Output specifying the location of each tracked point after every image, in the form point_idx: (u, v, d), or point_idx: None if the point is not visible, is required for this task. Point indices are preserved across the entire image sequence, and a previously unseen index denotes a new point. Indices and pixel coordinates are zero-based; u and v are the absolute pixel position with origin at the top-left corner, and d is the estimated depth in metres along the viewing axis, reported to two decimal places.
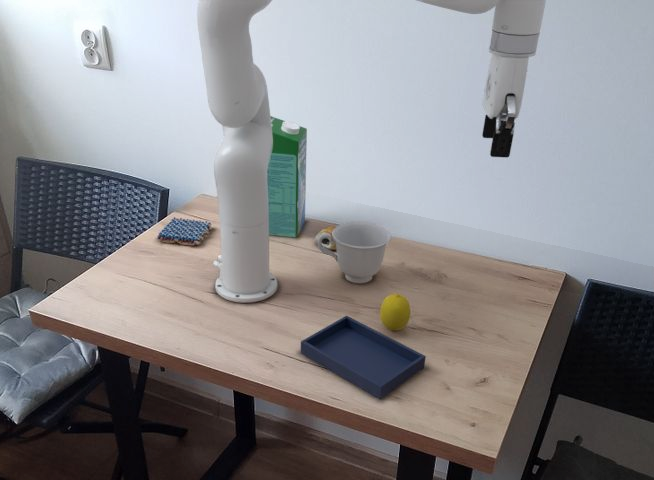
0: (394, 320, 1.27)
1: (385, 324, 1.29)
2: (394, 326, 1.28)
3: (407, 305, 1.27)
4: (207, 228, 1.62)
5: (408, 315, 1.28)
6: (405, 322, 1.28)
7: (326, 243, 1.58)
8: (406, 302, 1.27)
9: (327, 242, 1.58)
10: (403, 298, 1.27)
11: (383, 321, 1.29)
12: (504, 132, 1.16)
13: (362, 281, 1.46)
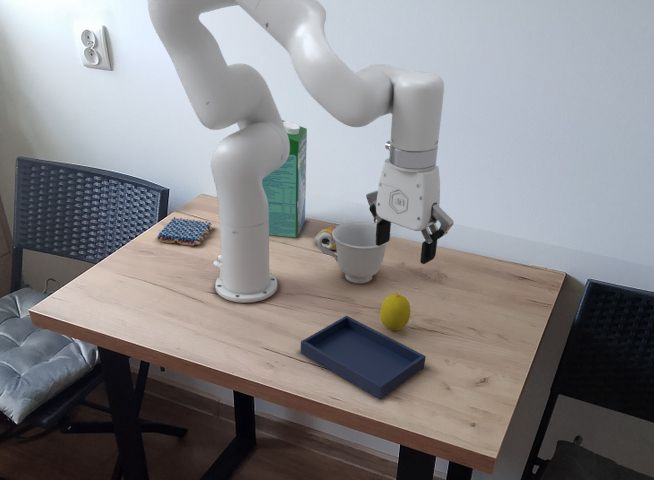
0: (394, 320, 1.27)
1: (385, 324, 1.29)
2: (394, 326, 1.28)
3: (407, 305, 1.27)
4: (207, 228, 1.62)
5: (408, 315, 1.28)
6: (405, 322, 1.28)
7: (326, 243, 1.58)
8: (406, 302, 1.27)
9: (327, 242, 1.58)
10: (403, 298, 1.27)
11: (383, 321, 1.29)
12: (436, 239, 1.15)
13: (362, 281, 1.46)
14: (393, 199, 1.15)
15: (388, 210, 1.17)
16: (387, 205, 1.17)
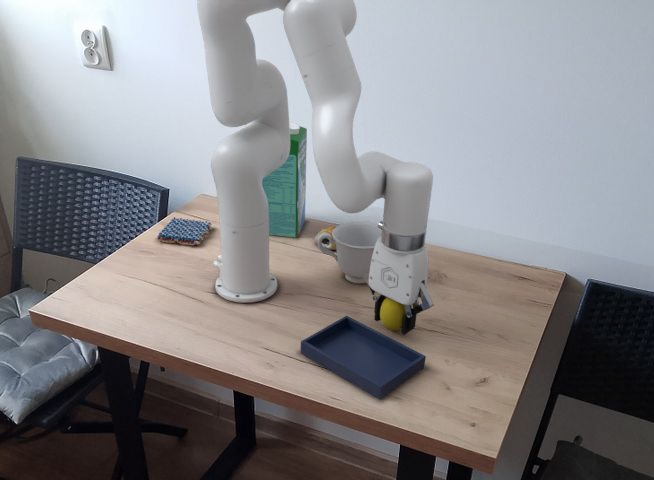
0: (394, 320, 1.27)
1: (385, 324, 1.29)
2: (394, 326, 1.28)
3: None
4: (207, 228, 1.62)
5: None
6: None
7: (326, 243, 1.58)
8: None
9: (327, 242, 1.58)
10: None
11: (383, 321, 1.29)
12: (416, 314, 1.25)
13: (362, 281, 1.46)
14: (384, 275, 1.23)
15: (379, 284, 1.25)
16: (379, 279, 1.25)
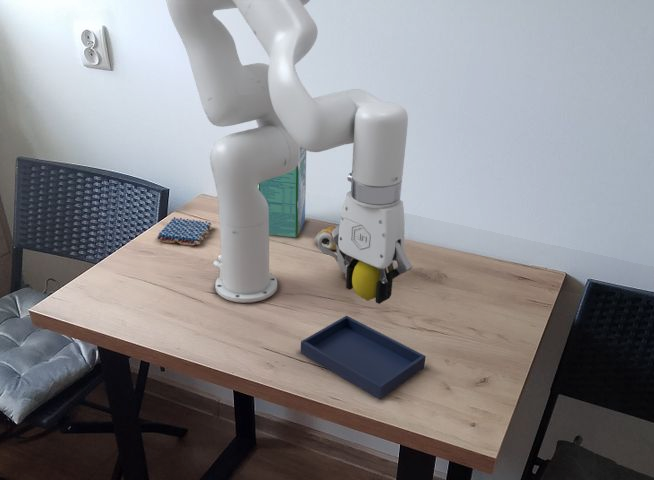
0: (367, 286, 1.12)
1: (358, 292, 1.14)
2: (367, 294, 1.13)
3: None
4: (207, 228, 1.62)
5: None
6: None
7: (326, 243, 1.58)
8: None
9: (327, 242, 1.58)
10: None
11: (355, 288, 1.14)
12: (392, 279, 1.11)
13: None
14: (355, 234, 1.09)
15: (350, 245, 1.10)
16: (349, 240, 1.10)
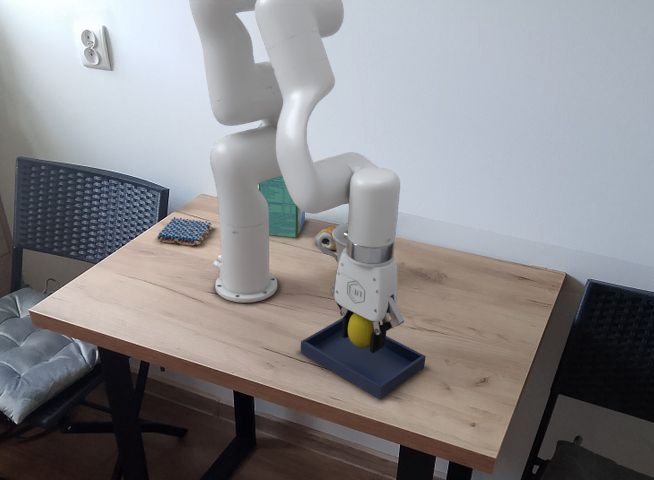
0: (362, 337, 1.18)
1: (353, 341, 1.19)
2: (362, 344, 1.19)
3: None
4: (207, 228, 1.62)
5: None
6: None
7: (326, 243, 1.58)
8: None
9: (327, 242, 1.58)
10: None
11: (351, 338, 1.19)
12: (385, 331, 1.16)
13: None
14: (350, 289, 1.14)
15: (346, 299, 1.16)
16: (345, 294, 1.15)
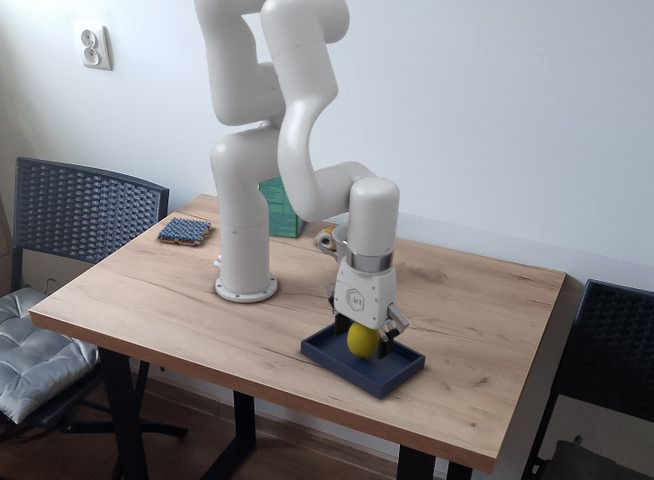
0: (361, 347, 1.19)
1: (352, 351, 1.20)
2: (362, 354, 1.20)
3: (376, 331, 1.19)
4: (207, 228, 1.62)
5: (377, 342, 1.20)
6: (374, 349, 1.20)
7: (326, 243, 1.58)
8: None
9: (327, 242, 1.58)
10: None
11: (350, 348, 1.20)
12: None
13: None
14: (350, 297, 1.15)
15: (345, 306, 1.17)
16: (344, 301, 1.16)
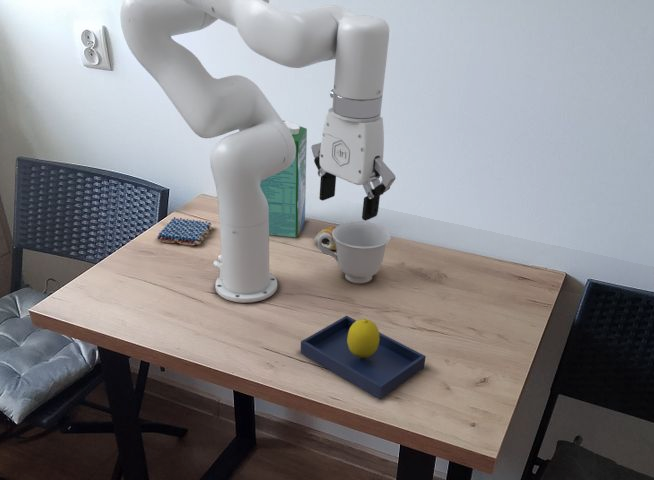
0: (361, 347, 1.19)
1: (352, 351, 1.20)
2: (362, 354, 1.20)
3: (375, 331, 1.19)
4: (207, 228, 1.62)
5: (377, 342, 1.20)
6: (374, 349, 1.20)
7: (326, 243, 1.58)
8: (374, 328, 1.19)
9: (327, 242, 1.58)
10: (371, 323, 1.19)
11: (350, 348, 1.20)
12: (378, 195, 1.12)
13: (362, 281, 1.46)
14: (335, 150, 1.11)
15: (331, 162, 1.13)
16: (330, 157, 1.12)
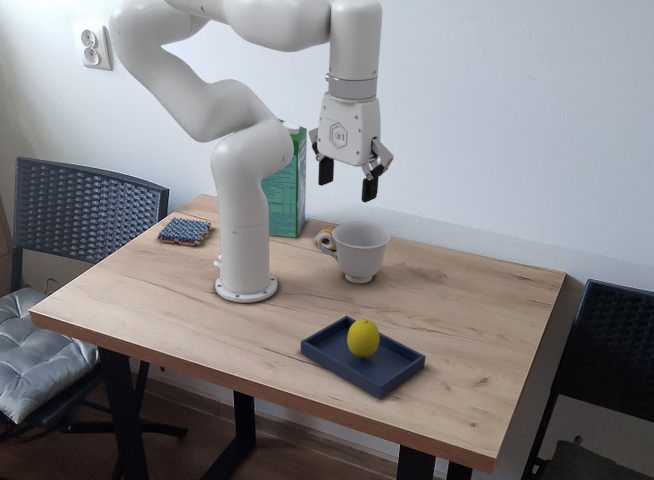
0: (361, 347, 1.19)
1: (352, 351, 1.20)
2: (362, 354, 1.20)
3: (375, 331, 1.19)
4: (207, 228, 1.62)
5: (377, 342, 1.20)
6: (374, 349, 1.20)
7: (326, 243, 1.58)
8: (374, 328, 1.19)
9: (327, 242, 1.58)
10: (371, 323, 1.19)
11: (350, 348, 1.20)
12: (377, 176, 1.12)
13: (362, 281, 1.46)
14: (333, 133, 1.12)
15: (328, 145, 1.13)
16: (327, 140, 1.13)
